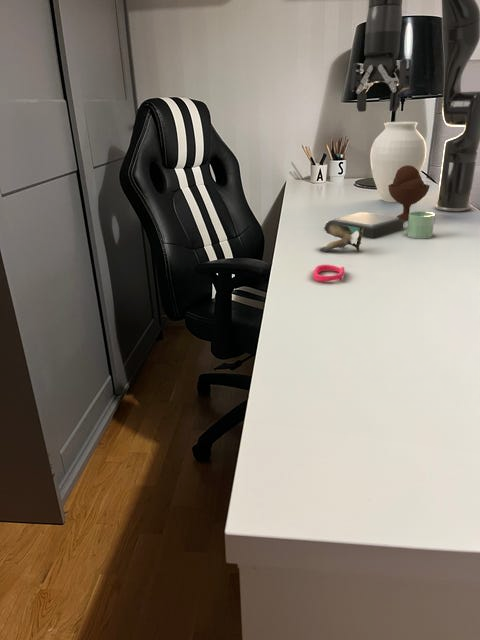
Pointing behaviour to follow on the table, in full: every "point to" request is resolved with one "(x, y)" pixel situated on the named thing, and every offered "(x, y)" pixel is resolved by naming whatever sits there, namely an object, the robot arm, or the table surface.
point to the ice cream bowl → (407, 189)
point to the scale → (371, 224)
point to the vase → (396, 154)
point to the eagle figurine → (342, 236)
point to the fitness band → (328, 278)
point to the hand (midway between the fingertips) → (377, 111)
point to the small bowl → (420, 225)
